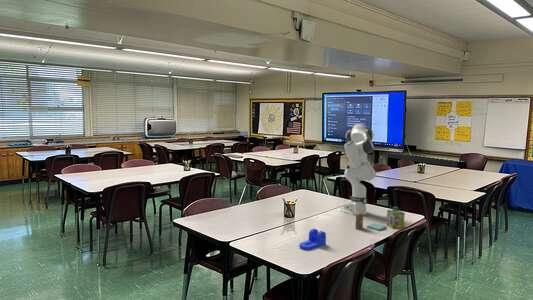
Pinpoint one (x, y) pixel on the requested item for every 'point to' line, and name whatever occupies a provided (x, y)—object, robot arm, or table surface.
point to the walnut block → (359, 220)
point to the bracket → (314, 240)
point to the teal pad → (376, 226)
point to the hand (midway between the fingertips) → (364, 181)
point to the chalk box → (395, 218)
